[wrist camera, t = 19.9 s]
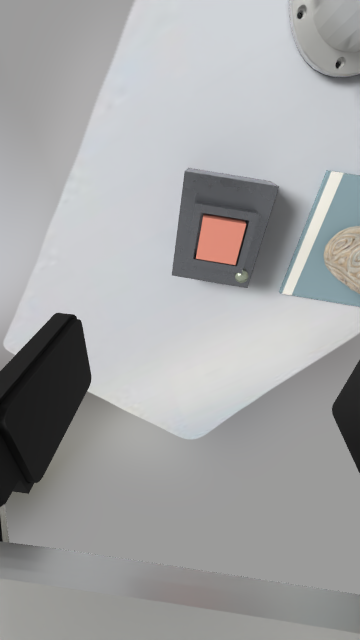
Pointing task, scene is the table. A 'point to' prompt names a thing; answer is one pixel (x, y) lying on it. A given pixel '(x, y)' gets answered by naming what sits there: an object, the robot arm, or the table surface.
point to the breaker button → (220, 238)
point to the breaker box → (230, 201)
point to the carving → (345, 257)
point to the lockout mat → (324, 241)
